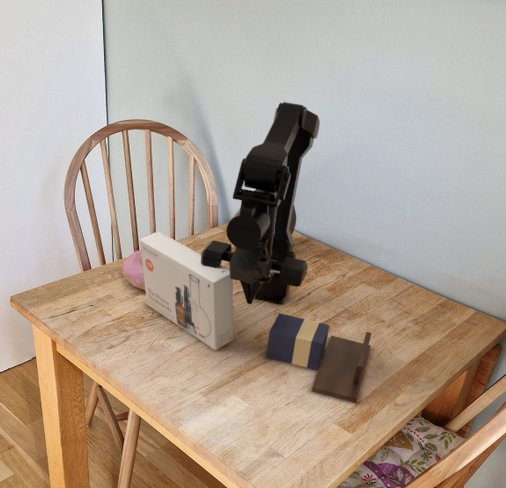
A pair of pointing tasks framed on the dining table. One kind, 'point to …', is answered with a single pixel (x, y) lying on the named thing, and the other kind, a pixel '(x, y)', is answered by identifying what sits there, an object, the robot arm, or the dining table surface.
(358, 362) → the walnut stand
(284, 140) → the robot arm
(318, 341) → the tea box
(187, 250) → the skincare box
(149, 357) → the dining table surface
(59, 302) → the dining table surface
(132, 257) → the donut
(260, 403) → the dining table surface
